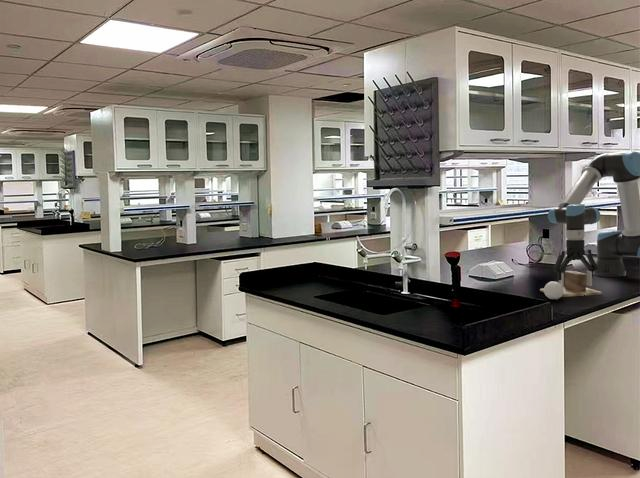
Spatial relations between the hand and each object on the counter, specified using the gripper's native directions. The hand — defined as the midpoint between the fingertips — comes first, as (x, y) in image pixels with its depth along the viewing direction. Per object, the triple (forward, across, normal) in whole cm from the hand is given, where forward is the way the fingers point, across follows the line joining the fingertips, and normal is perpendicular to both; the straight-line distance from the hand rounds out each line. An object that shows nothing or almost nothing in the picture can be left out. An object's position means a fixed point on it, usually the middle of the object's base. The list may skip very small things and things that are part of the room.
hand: (575, 286), depth 254 cm
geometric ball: (+3, -16, -11) cm, 20 cm away
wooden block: (+2, 0, 0) cm, 2 cm away
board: (+3, -2, 0) cm, 4 cm away
